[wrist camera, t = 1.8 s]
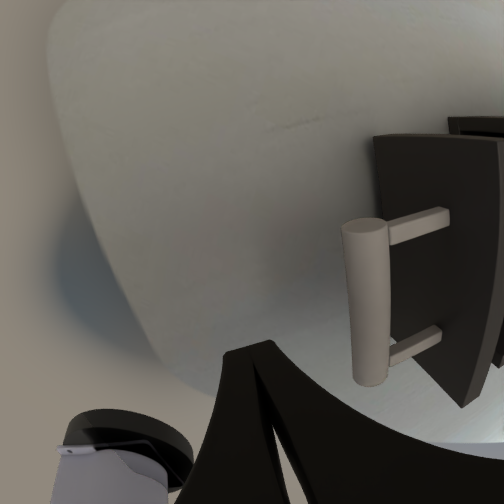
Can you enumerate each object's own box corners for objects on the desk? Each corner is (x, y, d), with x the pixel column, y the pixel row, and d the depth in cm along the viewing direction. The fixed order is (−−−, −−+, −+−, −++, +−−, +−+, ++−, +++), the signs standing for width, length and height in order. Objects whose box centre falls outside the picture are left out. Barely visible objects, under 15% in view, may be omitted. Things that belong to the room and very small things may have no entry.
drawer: (320, 358, 15) (380, 456, 9) (285, 151, 12) (385, 156, 5) (510, 267, 17) (575, 302, 11) (511, 125, 13) (592, 136, 7)
